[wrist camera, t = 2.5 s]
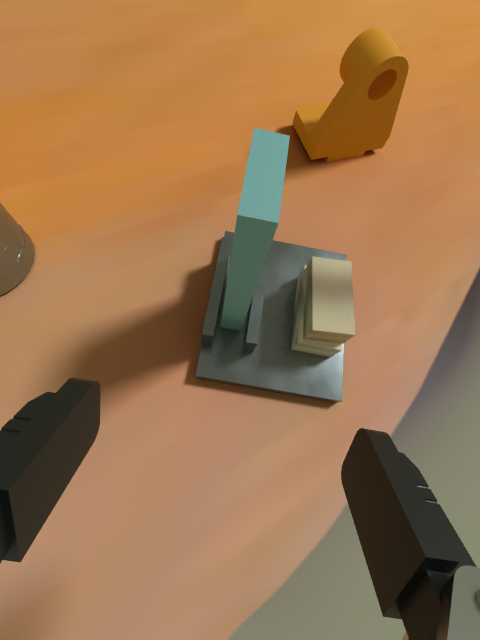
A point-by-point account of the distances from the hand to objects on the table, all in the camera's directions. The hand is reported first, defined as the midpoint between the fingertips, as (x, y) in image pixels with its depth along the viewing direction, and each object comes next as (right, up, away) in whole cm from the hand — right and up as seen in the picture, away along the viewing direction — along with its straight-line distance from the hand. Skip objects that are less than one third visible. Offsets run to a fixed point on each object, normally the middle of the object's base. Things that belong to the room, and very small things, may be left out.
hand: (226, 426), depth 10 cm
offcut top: (+8, +5, +19) cm, 21 cm away
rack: (+4, +4, +22) cm, 23 cm away
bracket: (+13, +28, +33) cm, 45 cm away
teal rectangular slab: (0, +5, +21) cm, 22 cm away
